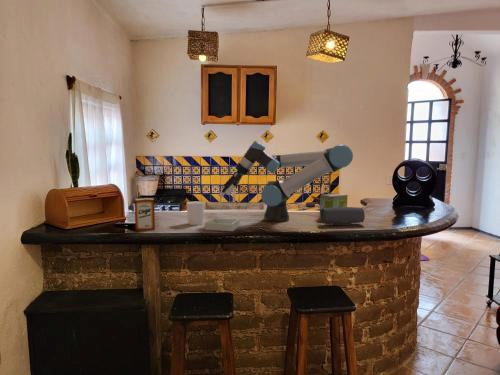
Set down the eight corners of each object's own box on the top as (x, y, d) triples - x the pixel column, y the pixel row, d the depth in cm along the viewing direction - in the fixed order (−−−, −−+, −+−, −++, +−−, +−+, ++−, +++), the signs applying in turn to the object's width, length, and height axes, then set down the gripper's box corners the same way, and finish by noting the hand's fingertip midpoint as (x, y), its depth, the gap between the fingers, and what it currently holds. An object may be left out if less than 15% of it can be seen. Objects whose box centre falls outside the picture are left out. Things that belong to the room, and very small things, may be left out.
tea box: (332, 220, 212) (333, 196, 211) (319, 218, 220) (319, 194, 218) (347, 218, 222) (347, 194, 221) (333, 215, 230) (334, 192, 228)
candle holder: (183, 224, 199) (183, 203, 198) (192, 221, 208) (192, 201, 207) (198, 226, 196) (198, 204, 194) (207, 222, 205) (207, 201, 203)
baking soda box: (135, 230, 183) (134, 199, 181) (135, 228, 189) (134, 198, 187) (154, 229, 185) (154, 199, 184) (154, 227, 192) (153, 197, 190)
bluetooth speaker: (357, 222, 207) (357, 205, 206) (364, 225, 198) (365, 208, 197) (319, 223, 203) (319, 206, 202) (325, 227, 194) (326, 208, 193)
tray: (240, 225, 197) (240, 219, 197) (232, 231, 183) (232, 224, 183) (214, 224, 201) (214, 217, 201) (204, 229, 186) (204, 222, 186)
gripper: (244, 161, 216) (225, 189, 220) (233, 162, 192) (211, 193, 196) (254, 168, 215) (234, 196, 219) (244, 170, 191) (222, 202, 195)
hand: (223, 195), depth 208 cm, fingers open, 13 cm apart
